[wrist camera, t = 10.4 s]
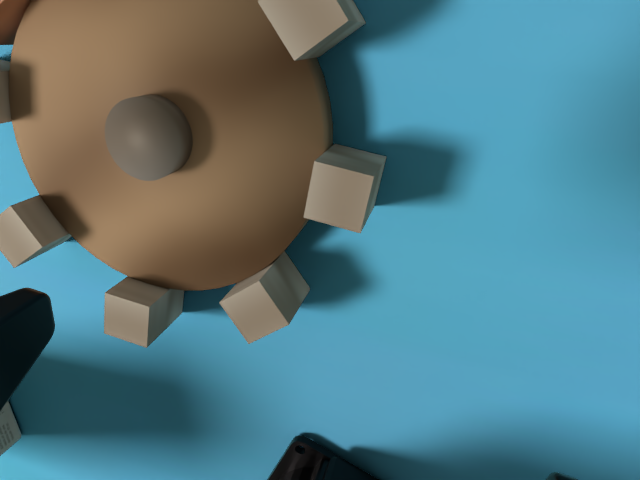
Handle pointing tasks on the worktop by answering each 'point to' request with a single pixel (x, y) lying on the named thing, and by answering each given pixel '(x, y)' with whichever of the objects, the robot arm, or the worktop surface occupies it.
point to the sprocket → (180, 148)
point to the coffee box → (8, 429)
